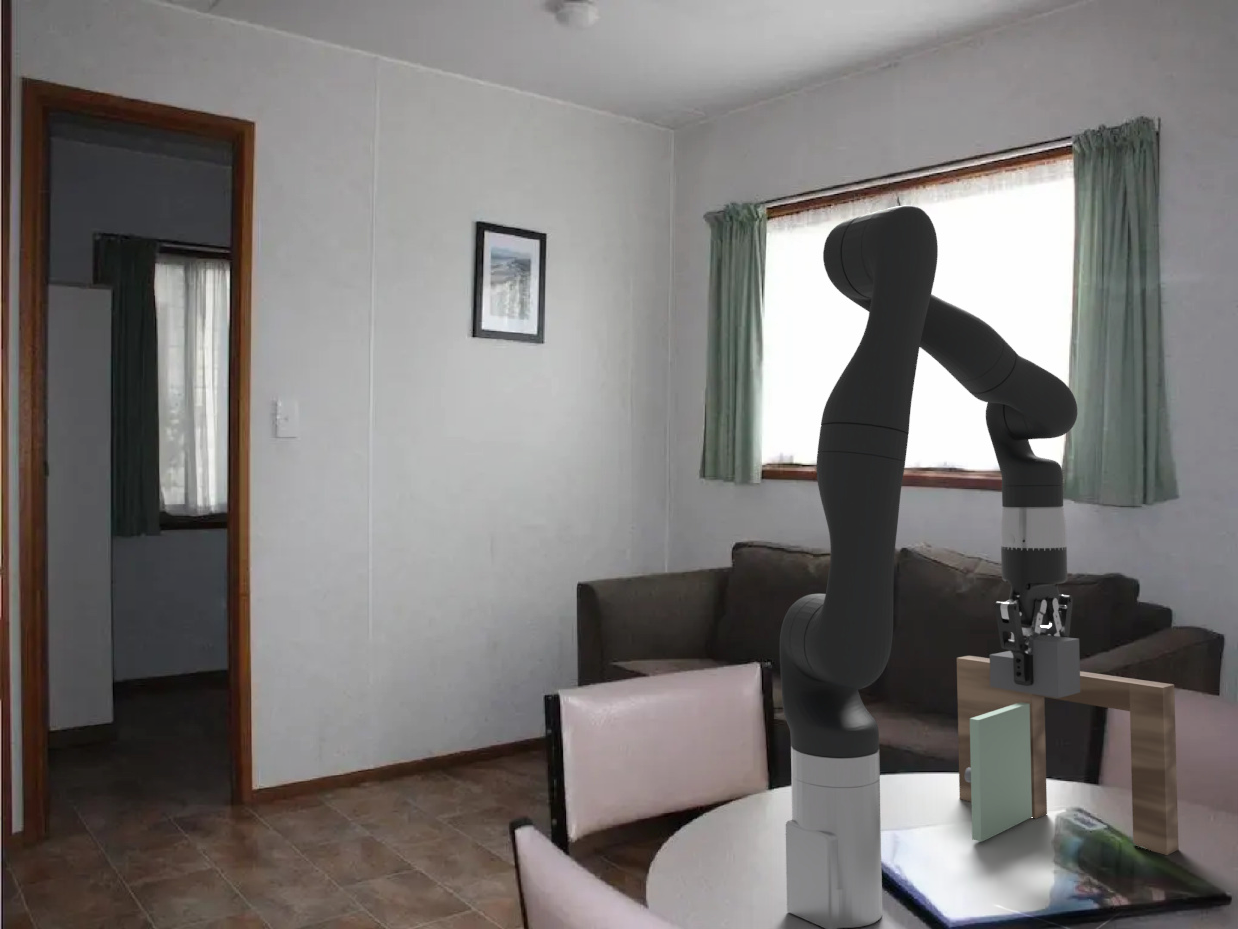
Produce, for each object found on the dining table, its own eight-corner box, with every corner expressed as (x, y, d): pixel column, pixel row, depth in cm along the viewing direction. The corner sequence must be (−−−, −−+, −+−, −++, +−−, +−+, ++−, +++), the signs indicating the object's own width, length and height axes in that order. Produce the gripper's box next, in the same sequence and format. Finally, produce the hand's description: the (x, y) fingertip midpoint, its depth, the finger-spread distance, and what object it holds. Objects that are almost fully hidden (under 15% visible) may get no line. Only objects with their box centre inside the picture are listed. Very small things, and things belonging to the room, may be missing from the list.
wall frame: (1167, 855, 121) (1162, 687, 121) (959, 798, 144) (956, 657, 144) (1178, 849, 123) (1174, 684, 123) (971, 794, 146) (969, 655, 146)
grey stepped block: (1058, 698, 119) (1057, 643, 119) (990, 686, 126) (989, 634, 127) (1080, 692, 122) (1079, 638, 122) (1012, 681, 130) (1011, 631, 130)
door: (963, 837, 127) (960, 717, 127) (1014, 813, 136) (1012, 700, 136) (981, 842, 125) (978, 720, 125) (1032, 817, 134) (1029, 703, 134)
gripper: (1029, 547, 117) (1032, 694, 117) (1092, 542, 126) (1096, 679, 126) (972, 545, 123) (975, 685, 123) (1036, 540, 132) (1039, 671, 132)
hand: (1036, 681), depth 124 cm, fingers closed on grey stepped block, 5 cm apart
